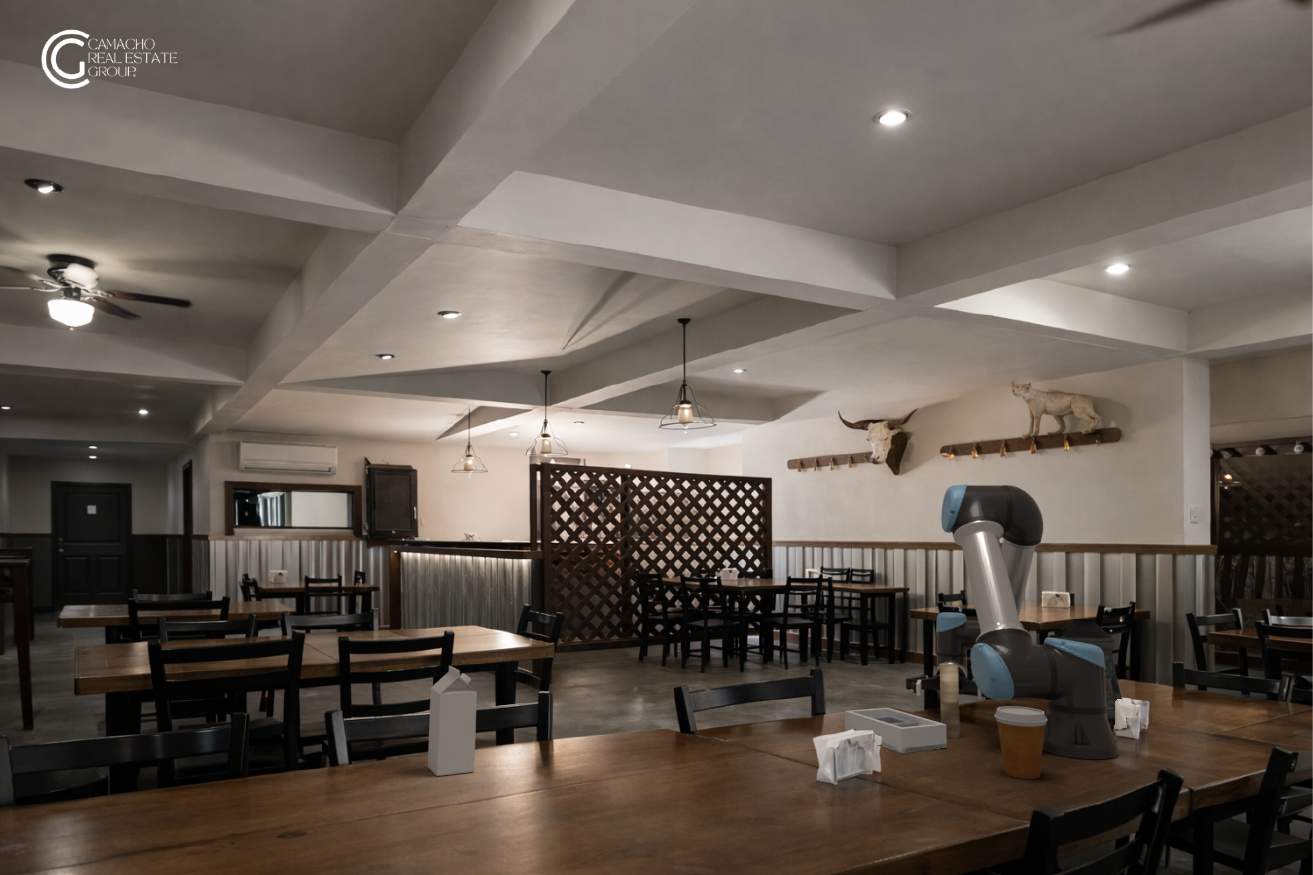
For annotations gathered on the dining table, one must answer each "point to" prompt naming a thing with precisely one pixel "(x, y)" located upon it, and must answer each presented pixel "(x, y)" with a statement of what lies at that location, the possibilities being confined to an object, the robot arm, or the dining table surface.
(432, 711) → the milk carton
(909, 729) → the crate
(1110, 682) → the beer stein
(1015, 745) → the disposable coffee cup
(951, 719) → the dowel
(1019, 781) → the dining table surface
